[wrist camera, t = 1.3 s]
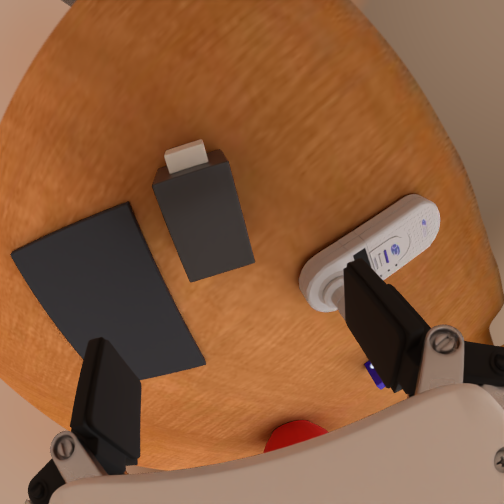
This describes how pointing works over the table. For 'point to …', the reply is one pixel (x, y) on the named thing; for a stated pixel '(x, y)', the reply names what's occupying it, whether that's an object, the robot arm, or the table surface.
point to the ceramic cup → (293, 434)
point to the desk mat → (109, 292)
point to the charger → (202, 211)
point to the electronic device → (371, 250)
